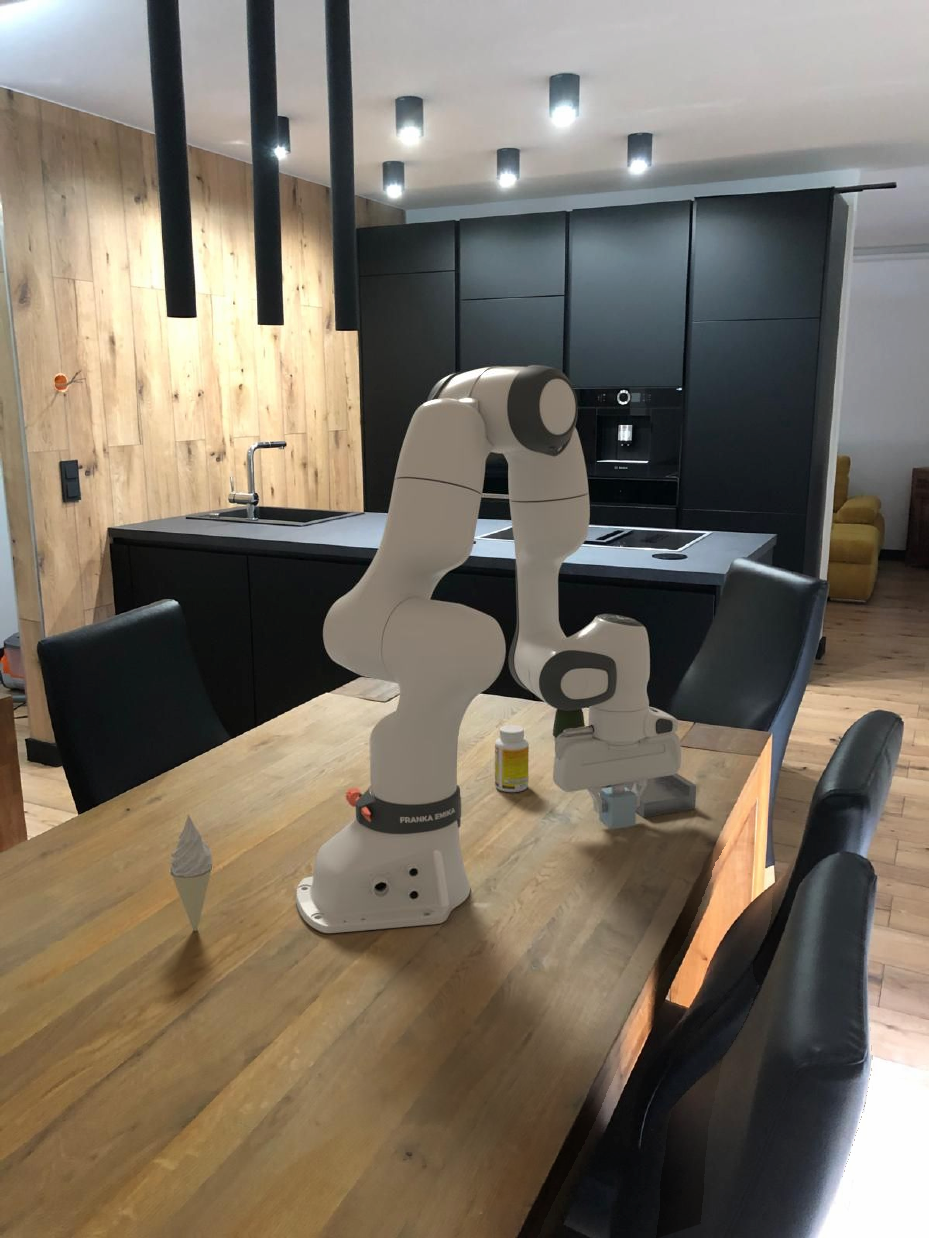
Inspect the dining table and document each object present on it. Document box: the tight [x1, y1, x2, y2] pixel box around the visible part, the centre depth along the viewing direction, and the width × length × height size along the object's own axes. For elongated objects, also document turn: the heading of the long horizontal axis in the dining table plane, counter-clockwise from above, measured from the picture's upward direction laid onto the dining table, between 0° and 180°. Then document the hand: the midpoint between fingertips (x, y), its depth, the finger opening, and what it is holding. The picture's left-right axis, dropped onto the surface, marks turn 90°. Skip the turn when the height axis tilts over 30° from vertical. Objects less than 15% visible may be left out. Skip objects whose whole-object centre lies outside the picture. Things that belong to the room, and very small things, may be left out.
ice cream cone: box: [169, 814, 214, 932], centre depth 119 cm, size 5×5×15 cm
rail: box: [602, 772, 697, 819], centre depth 163 cm, size 10×19×4 cm, turn 20°
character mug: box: [552, 708, 586, 739], centre depth 189 cm, size 11×7×13 cm, turn 68°
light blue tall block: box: [598, 783, 637, 831], centre depth 151 cm, size 4×4×6 cm
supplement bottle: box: [494, 724, 530, 793], centre depth 165 cm, size 6×6×10 cm
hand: (616, 808), depth 151 cm, fingers open, 4 cm apart
